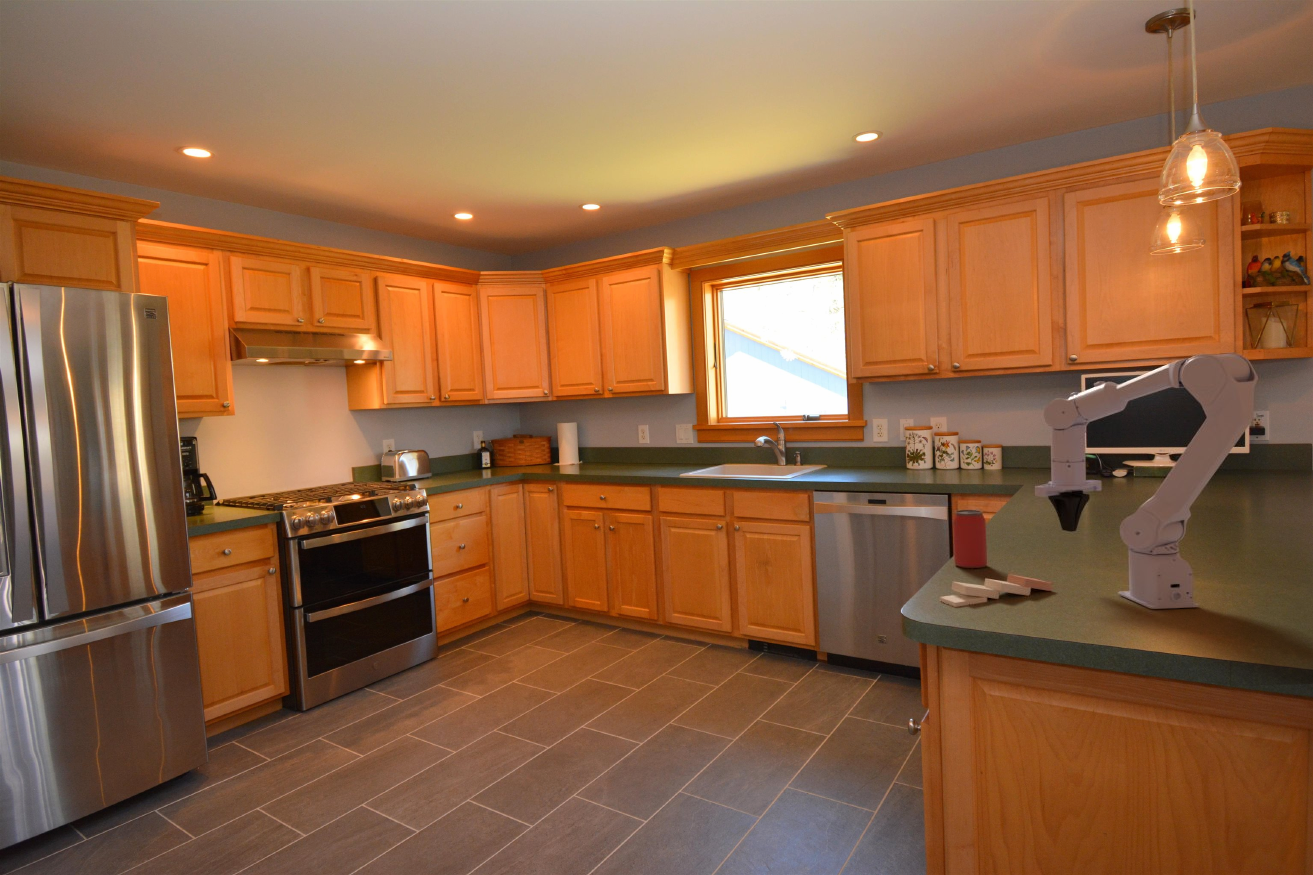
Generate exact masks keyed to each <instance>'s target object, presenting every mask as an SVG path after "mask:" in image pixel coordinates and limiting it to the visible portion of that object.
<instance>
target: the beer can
mask: <svg viewBox="0 0 1313 875" xmlns="http://www.w3.org/2000/svg"><path fill="white" fill-rule="evenodd" d="M986 525H987V521H986V519H985V516H984V514H983V511H982V510H977V509H961V510H959V509H958V510H955V512H954V516H953V521H952V529H953V530H952V531H953V533H952V536H953V559H954V558H955V559H954V565H955V566H957V567H958V568H964V569H969V568H972V569H971V570H974V569H973V568H977V569H983V568H985V567H986V566H987V565H988V551H987V529H986V528H987V526H986Z"/></svg>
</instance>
